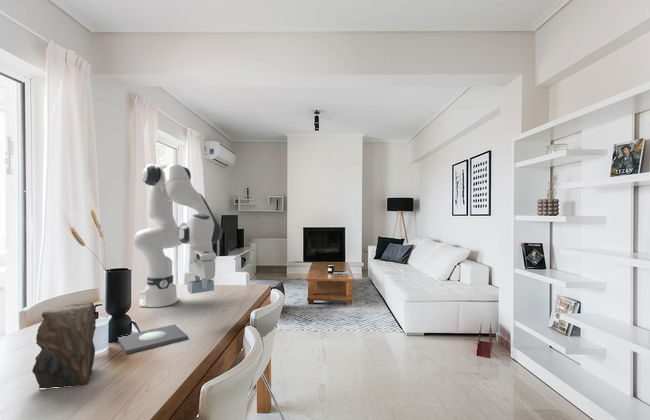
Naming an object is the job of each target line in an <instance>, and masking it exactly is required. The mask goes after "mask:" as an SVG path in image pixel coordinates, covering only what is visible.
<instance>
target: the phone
mask: <svg viewBox="0 0 650 420" xmlns="http://www.w3.org/2000/svg"><path fill="white" fill-rule="evenodd" d="M201 284H202V279H200V280H196V281H195V280H190V281H187V292H188V293H190V294H192V295H193V294H199V293H204V292H212V291H215V280H213V279H209V280H208V282H207V287H206V288H205V289H202V288H201Z"/></svg>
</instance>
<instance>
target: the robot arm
mask: <svg viewBox="0 0 650 420" xmlns="http://www.w3.org/2000/svg"><path fill="white" fill-rule="evenodd" d="M142 169H143V170H142V175H141V176H142V181H143V182H144V184H145V185H148V186H150V187H149V192H148V216H149V218H150V219H152V220H154V221H155V222H156V224H157V227H148V228H145V229H141V230H138V231H136V233H135V234H134V236H133V245H134V246H135V247H136V249H138V250H139V251H141V253H143V255H144V256H145V259H146V262H147V271H148V274H147V275H148V276H147V278H146V284H147V285H146V287H145V288H144V290H142V291H141V292H140V296H141V298H139V307H140V308H160V307H166V306H171V305H174V304H175V303H177V302H179V301H181V299H180V298H179V297H178V294H177V292H178V291H177V285H176V284H174V275H173V260H172V259H171V258H170V257H169V256H166V254H165V253H164V250H166V249H172V248H177V247H179V246H182V245H183V244H184V245H189V261H188V272H189V274H192V275H193V278H194V281H196V280H202V284H201V288H202V289H205V288H206V287H207V282H208V280H209V279H211V280H213V279H215V275H216V260H217V253H216V252H215V251H214V249H213V244H216V243H218V241H220V240H221V238H222V235H223V228H222V226H221V225H220V224H221V223H219V222H218V220H217V219H216V217H215V216H214V214H213V212H212V210H211V208H210V206H209V204H208V202H207V201H206V199H205V197H204V196H203V194H201V193H200V192H198V190H196V189H195V187H194V186H193V184H192V182H191V178H192V175H191V174H192V173H191V171H190V169H189V168H188V167H185V166H182V165H181V164H175V163H174V164H156V163H149V164H146V165H145V166H144V167H143V168H142ZM173 203H175V204H178V205H181V206H186V207H188V208H191V209H193V210H195V211H196V212H197V213H198V214H197V213H196V214H192V215H191V217H190V219H189V220H188V221H186V222H183V223H181V224H180V225H179V226H178V224H177V223H176V220H175V217H174V209H173V208H174V207H173V205H174V204H173Z"/></svg>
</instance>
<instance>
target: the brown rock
mask: <svg viewBox="0 0 650 420" xmlns="http://www.w3.org/2000/svg"><path fill="white" fill-rule="evenodd" d="M95 309H96V308H95V304H94V302H90V303H89V302H88V303H83V304H73V303H72V304H70V305H66V306H65V307H62V308H58V309H56V310H47V311H44V312H42V313H41V317H42V321H41V323H40V325H39V326H38V329H37V330H36V331H37V333H36V337H35V340H36V342H35V344H36V345H38V347H39V348H40V349H41V350H40V352H39V353H38V354H37V355H36V356H35V363H34V365H33V367H32V370H31V371H32V373H33V374H34V376H35V379H36V383H37V384H38V389H39V388H51V387H64V386H75V387H78V386H77V385H81V386H86V384H87V385H88V382H89V381H88V380H89V379H90V376H91V373H92V370H93V367H94V366H93V365H94V361H95V356H96V355H95V354H96V349H95V348H96V346H95V344H94V337H95V332H96V328H97V327H96V316H95V313H94V312H95ZM64 388H65V387H64Z"/></svg>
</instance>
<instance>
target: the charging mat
mask: <svg viewBox="0 0 650 420" xmlns="http://www.w3.org/2000/svg"><path fill="white" fill-rule="evenodd" d="M139 332H140V333H139ZM129 334H130V335H128V334H127V335H128V336H123V335H121V336H122V337H118V336H117V337H118V340H117V342H118V344H119V345H120V347H121V349H122V351H123V352H124V354H125V355H129V354H133V353H137V352H140V351H144V350H147V349H152V348H157V347H160V346H161V347H162V346H165V345H168V344H172V343H177V342H180V341H185V340H188V339H189V336H188V334H186V332H185V331H183V330H182V329H181V328H179V327H178V326H177V324H170V325H165V326H161V327H156V328H151V329H147V330H143V331H137V332H131V333H129Z"/></svg>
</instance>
